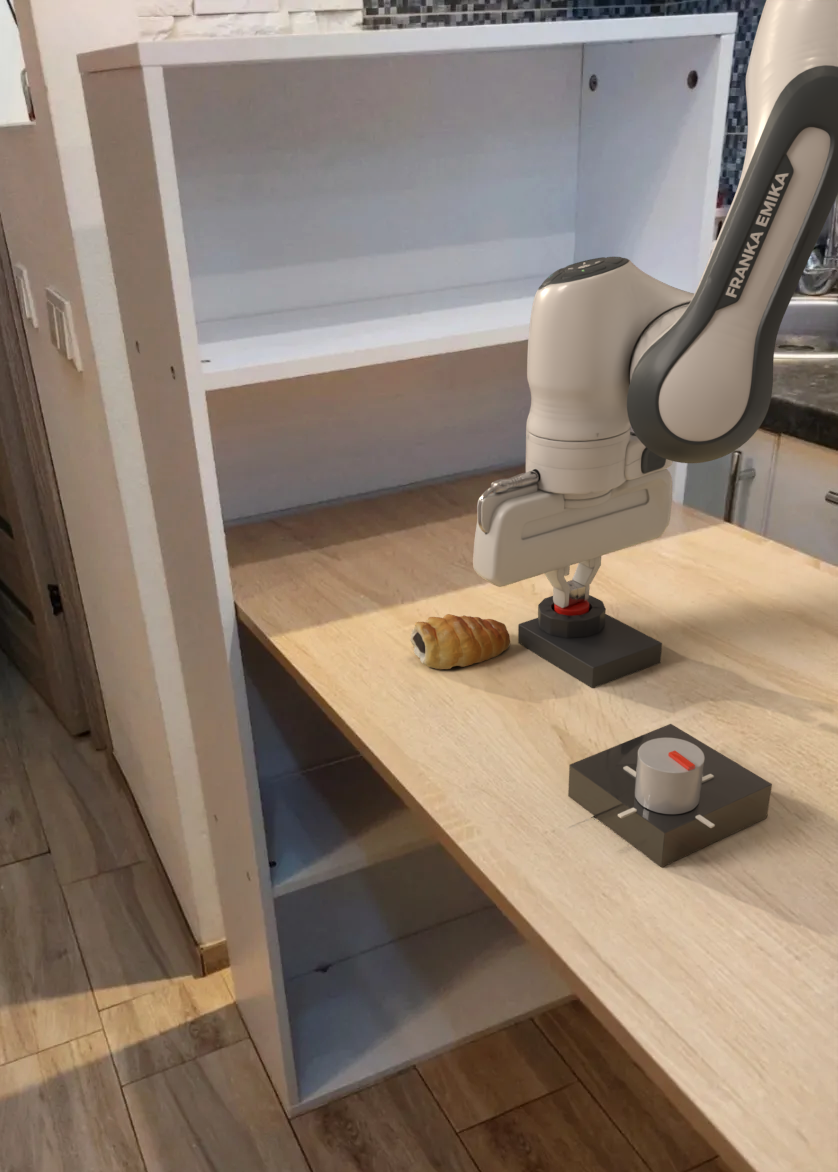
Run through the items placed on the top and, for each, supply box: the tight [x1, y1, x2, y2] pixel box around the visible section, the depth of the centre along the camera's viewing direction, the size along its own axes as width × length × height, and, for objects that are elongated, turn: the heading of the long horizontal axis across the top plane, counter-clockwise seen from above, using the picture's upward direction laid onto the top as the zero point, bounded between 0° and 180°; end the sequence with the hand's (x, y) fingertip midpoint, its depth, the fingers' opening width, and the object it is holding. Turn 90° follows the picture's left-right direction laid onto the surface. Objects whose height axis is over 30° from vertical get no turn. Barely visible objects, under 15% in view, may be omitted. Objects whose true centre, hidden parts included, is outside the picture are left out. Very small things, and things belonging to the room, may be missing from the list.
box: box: [517, 594, 663, 689], centre depth 96 cm, size 8×11×4 cm
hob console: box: [567, 723, 773, 868], centre depth 75 cm, size 11×11×3 cm
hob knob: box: [635, 738, 705, 814], centre depth 71 cm, size 4×4×4 cm
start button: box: [554, 600, 589, 616], centre depth 98 cm, size 3×3×2 cm
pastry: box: [409, 613, 511, 671], centre depth 99 cm, size 9×7×4 cm
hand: (570, 602), depth 97 cm, fingers closed, pressing on start button
